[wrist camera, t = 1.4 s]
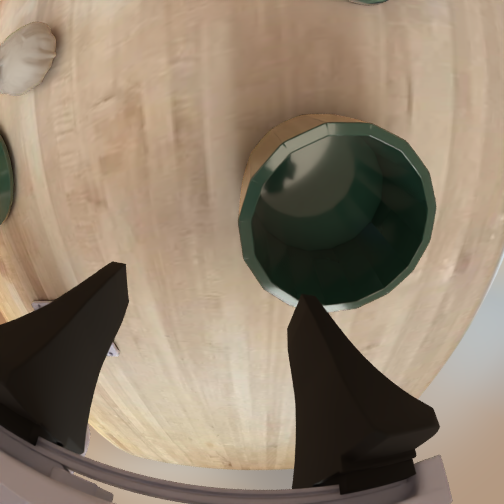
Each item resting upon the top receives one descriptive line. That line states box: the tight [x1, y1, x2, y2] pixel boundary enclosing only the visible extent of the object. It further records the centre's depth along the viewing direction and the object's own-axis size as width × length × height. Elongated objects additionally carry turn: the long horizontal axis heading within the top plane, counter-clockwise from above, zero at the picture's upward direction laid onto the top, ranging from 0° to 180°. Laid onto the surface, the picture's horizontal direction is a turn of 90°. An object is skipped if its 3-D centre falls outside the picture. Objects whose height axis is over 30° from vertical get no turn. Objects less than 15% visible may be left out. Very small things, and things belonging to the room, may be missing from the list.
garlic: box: [0, 22, 56, 96], centre depth 10 cm, size 6×5×5 cm
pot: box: [238, 114, 436, 312], centre depth 15 cm, size 10×10×6 cm
